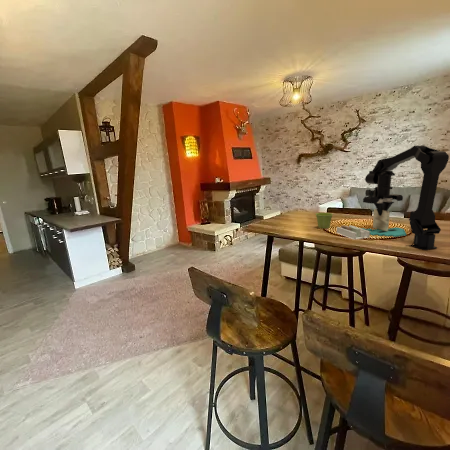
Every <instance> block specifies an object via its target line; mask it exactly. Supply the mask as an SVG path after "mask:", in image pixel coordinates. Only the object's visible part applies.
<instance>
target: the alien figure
mask: <svg viewBox="0 0 450 450" xmlns="http://www.w3.org/2000/svg"><path fill="white" fill-rule="evenodd" d="M360 228H361V227H360ZM361 229H364V230H367V231H370V236H379V237H382V236H385V237H388V238H389V237H394V238H398V237H404V236H405V237H406V236H407V232H406V230H405V228H400V227H397V226H396V227H391V228H390V227H388V231H384V230H380V229H376V228H364V227H362V228H361Z"/></svg>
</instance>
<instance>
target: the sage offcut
mask: <svg viewBox="0 0 450 450" xmlns="http://www.w3.org/2000/svg"><path fill="white" fill-rule="evenodd" d="M355 227H356V226H354V227H350V228H351V231H352V232H355V233H356V237H360V229H358V228H359V227H358V228H355Z"/></svg>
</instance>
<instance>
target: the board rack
mask: <svg viewBox="0 0 450 450" xmlns="http://www.w3.org/2000/svg"><path fill="white" fill-rule="evenodd" d="M346 226H347V227H355V228H358V229H360V237H356V233H355V232H352V231H349V230H346V229H343V228H341V226H340V227H339V226H336V232H334V233H336V234H339V235H341V236H343V237H346V238H349V239H351V240H360V239H367V238H370V236H371V235H370V231H367V230H364V229H365V228H364V229H361V227H357V226H355V225H352V224H351V225H349V226H348V225H346Z"/></svg>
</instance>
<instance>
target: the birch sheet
mask: <svg viewBox="0 0 450 450" xmlns="http://www.w3.org/2000/svg"><path fill="white" fill-rule="evenodd" d="M390 212H391V211H389V210H387V211H384V210H383V211H382V214H381V216H379V214H378V211H377V208H374V209H373V218H372V219H373V220H372V229H380V230H384V231H388V229H389V228H390V226H389V225H390V224H389V223H390Z"/></svg>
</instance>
